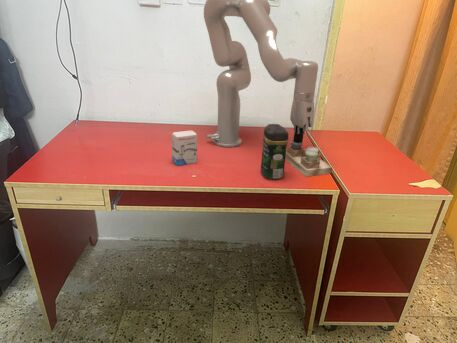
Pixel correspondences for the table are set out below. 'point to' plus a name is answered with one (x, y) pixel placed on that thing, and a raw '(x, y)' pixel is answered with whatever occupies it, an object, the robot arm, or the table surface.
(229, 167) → the table surface
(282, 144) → the coffee jar
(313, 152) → the sage button
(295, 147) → the charcoal button
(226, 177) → the table surface
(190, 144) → the ink box
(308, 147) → the white button
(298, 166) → the switch board
